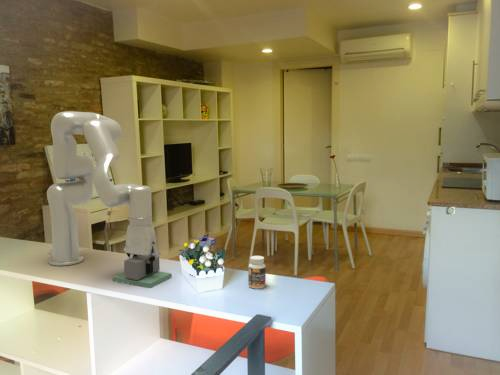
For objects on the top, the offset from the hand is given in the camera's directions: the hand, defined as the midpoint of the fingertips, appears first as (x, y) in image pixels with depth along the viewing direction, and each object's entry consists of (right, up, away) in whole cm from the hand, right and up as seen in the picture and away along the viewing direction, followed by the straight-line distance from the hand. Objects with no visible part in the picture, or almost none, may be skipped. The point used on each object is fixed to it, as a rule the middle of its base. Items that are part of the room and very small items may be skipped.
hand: (142, 271), depth 154 cm
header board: (0, -3, 0) cm, 3 cm away
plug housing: (0, -1, 0) cm, 1 cm away
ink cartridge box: (+20, -2, +8) cm, 22 cm away
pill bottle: (+40, -4, -6) cm, 41 cm away
